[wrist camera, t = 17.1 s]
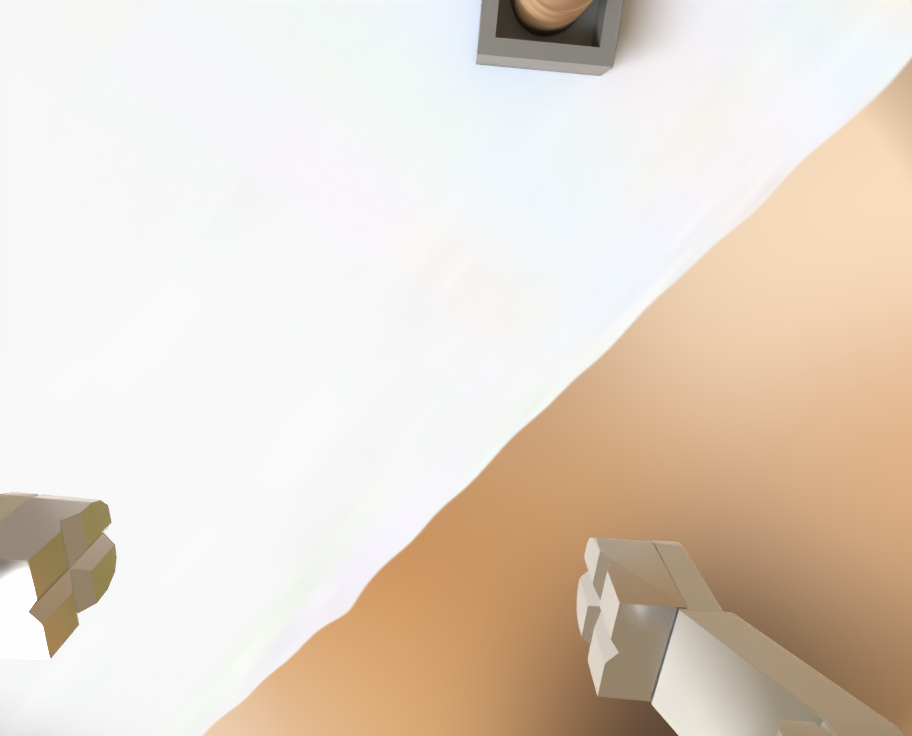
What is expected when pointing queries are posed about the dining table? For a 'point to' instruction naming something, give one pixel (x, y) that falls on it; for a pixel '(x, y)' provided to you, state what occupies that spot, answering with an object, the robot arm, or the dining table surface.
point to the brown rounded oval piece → (548, 14)
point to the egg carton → (550, 40)
